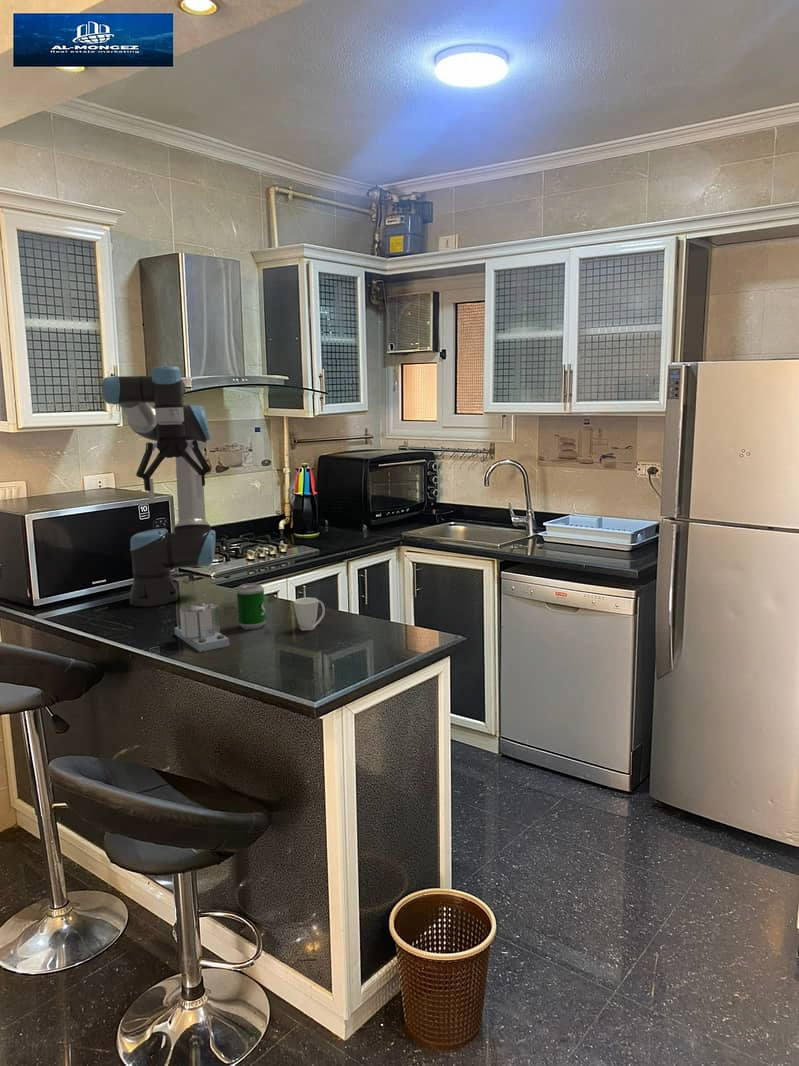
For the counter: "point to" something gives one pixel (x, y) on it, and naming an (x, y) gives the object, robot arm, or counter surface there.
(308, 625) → the cup
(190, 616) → the grey hollow octagonal piece
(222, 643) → the block
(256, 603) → the soda can
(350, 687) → the counter surface
